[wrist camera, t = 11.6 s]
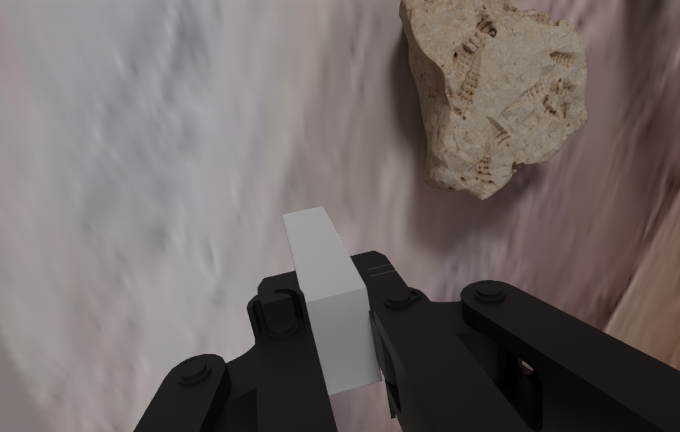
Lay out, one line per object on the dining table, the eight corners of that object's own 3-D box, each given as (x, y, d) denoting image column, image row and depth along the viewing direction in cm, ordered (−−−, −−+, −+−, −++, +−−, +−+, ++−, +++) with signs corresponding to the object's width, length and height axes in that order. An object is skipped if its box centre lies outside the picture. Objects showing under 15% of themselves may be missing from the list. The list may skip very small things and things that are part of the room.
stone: (415, 191, 26) (439, 214, 22) (381, -19, 23) (401, -46, 18) (562, 159, 26) (618, 175, 22) (549, -55, 23) (611, -91, 18)
